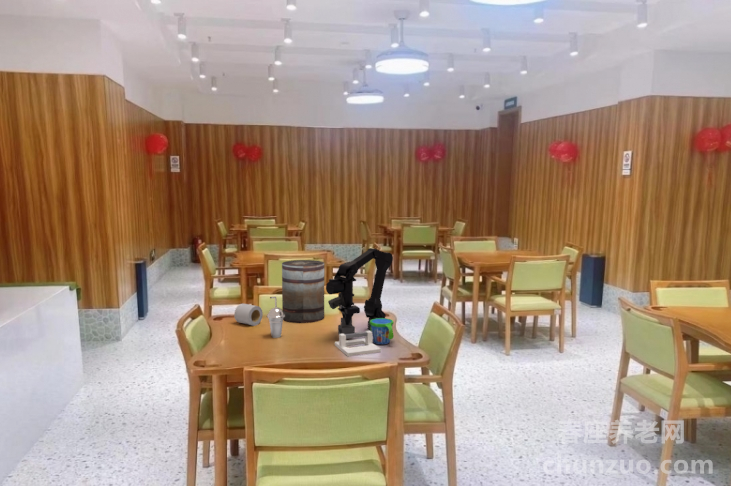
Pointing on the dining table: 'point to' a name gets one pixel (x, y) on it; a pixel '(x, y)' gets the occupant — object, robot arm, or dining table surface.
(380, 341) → the snack cup
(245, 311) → the toilet paper
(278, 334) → the cup with straw
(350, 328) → the bracket
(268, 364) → the dining table surface
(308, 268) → the barrel
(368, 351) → the white square base
